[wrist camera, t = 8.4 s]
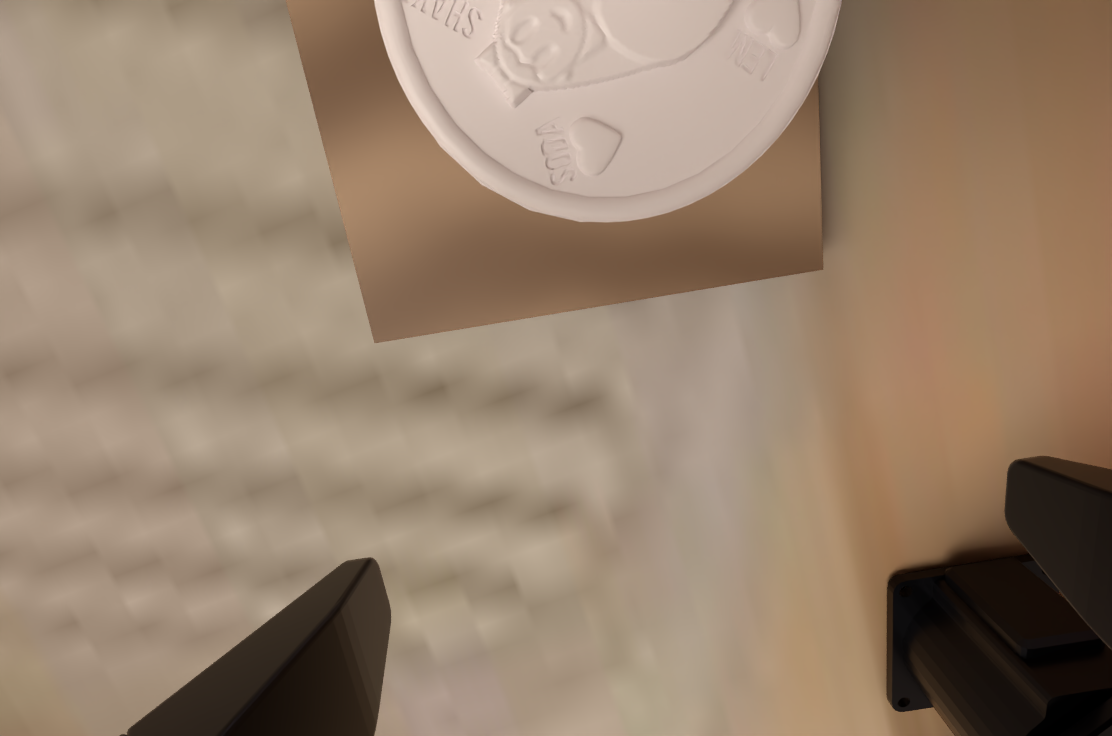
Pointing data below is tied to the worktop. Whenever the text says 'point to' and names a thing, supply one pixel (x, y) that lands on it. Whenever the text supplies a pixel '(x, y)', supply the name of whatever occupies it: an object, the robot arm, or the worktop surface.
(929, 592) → the robot arm
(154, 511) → the worktop surface
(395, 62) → the white cup with straw
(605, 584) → the worktop surface
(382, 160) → the walnut board
